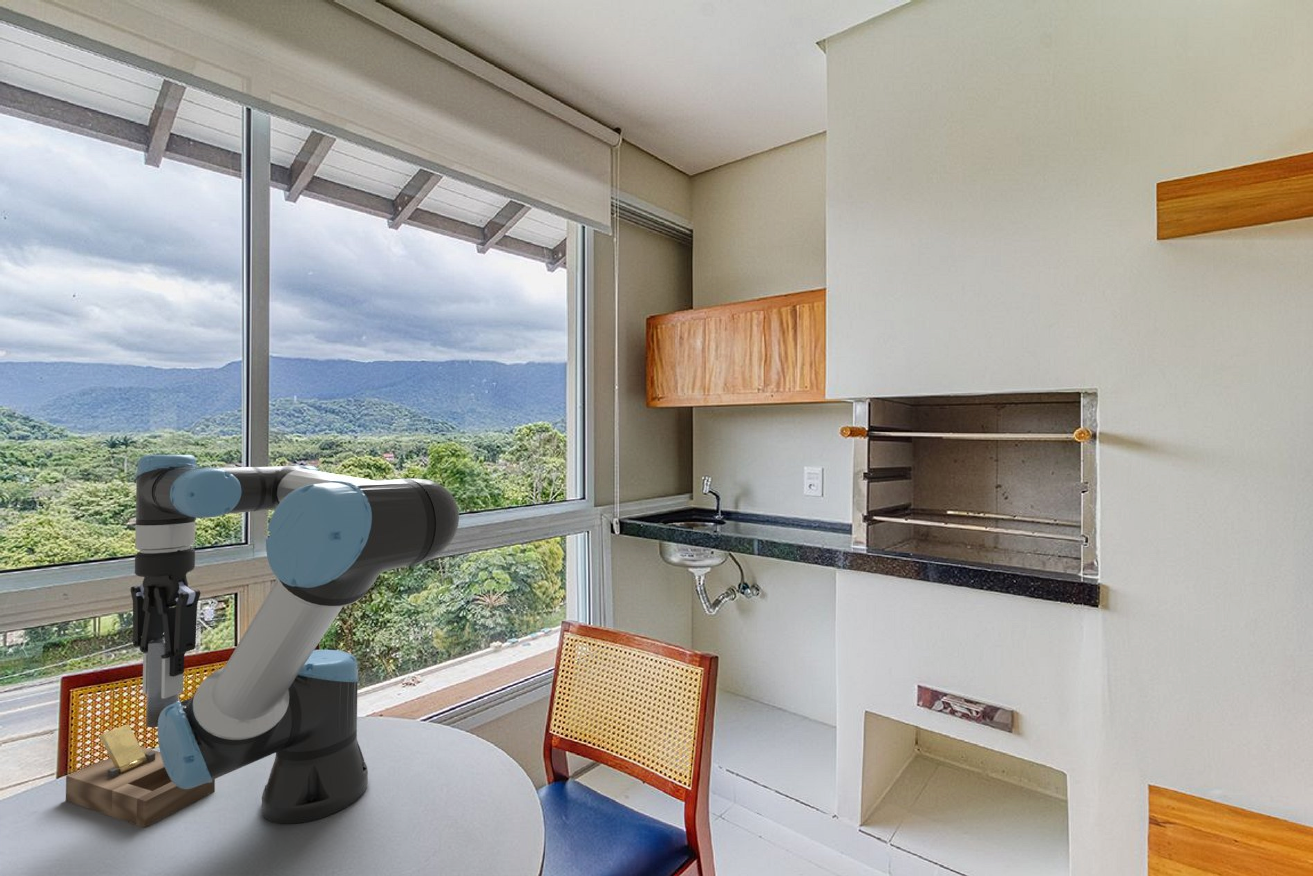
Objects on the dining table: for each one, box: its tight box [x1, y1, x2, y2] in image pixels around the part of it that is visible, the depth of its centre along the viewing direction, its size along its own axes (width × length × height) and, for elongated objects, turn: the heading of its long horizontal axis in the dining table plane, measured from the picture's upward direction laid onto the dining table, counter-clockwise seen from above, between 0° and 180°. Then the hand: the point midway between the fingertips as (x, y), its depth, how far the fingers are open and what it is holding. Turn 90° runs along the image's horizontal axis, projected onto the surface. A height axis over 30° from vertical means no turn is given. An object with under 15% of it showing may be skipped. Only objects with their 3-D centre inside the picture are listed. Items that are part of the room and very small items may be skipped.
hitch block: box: [65, 746, 216, 828], centre depth 96 cm, size 20×10×5 cm, turn 70°
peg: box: [145, 637, 180, 728], centre depth 95 cm, size 4×4×13 cm
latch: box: [99, 723, 147, 774], centre depth 97 cm, size 7×4×1 cm
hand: (162, 692), depth 94 cm, fingers closed on peg, 4 cm apart
